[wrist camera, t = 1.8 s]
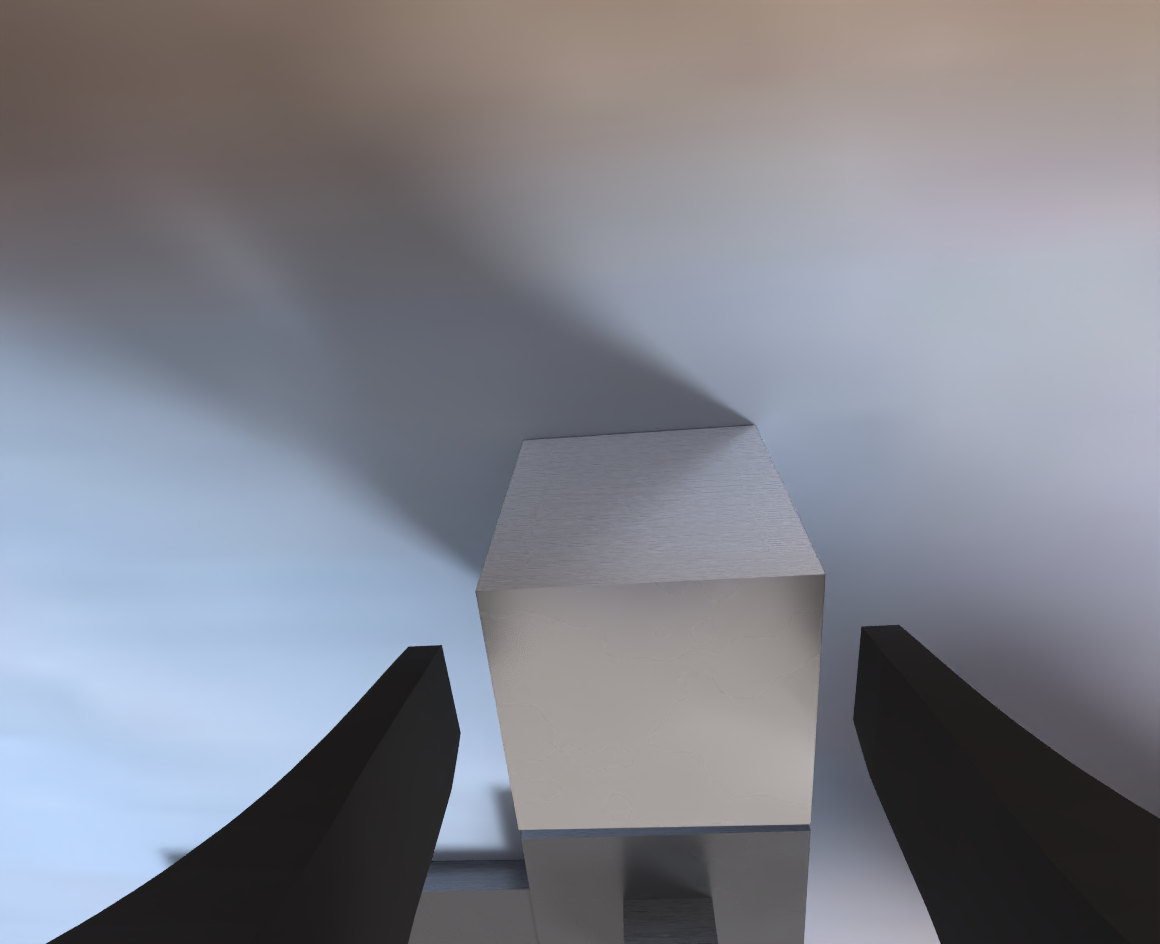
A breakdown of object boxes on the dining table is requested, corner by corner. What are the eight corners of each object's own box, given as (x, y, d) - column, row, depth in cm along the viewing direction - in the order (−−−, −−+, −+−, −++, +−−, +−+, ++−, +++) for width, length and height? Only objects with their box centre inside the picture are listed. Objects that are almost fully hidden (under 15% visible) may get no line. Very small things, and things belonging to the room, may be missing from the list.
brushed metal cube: (755, 424, 16) (825, 574, 11) (753, 617, 18) (810, 824, 13) (523, 440, 16) (475, 590, 11) (548, 626, 19) (518, 830, 13)
